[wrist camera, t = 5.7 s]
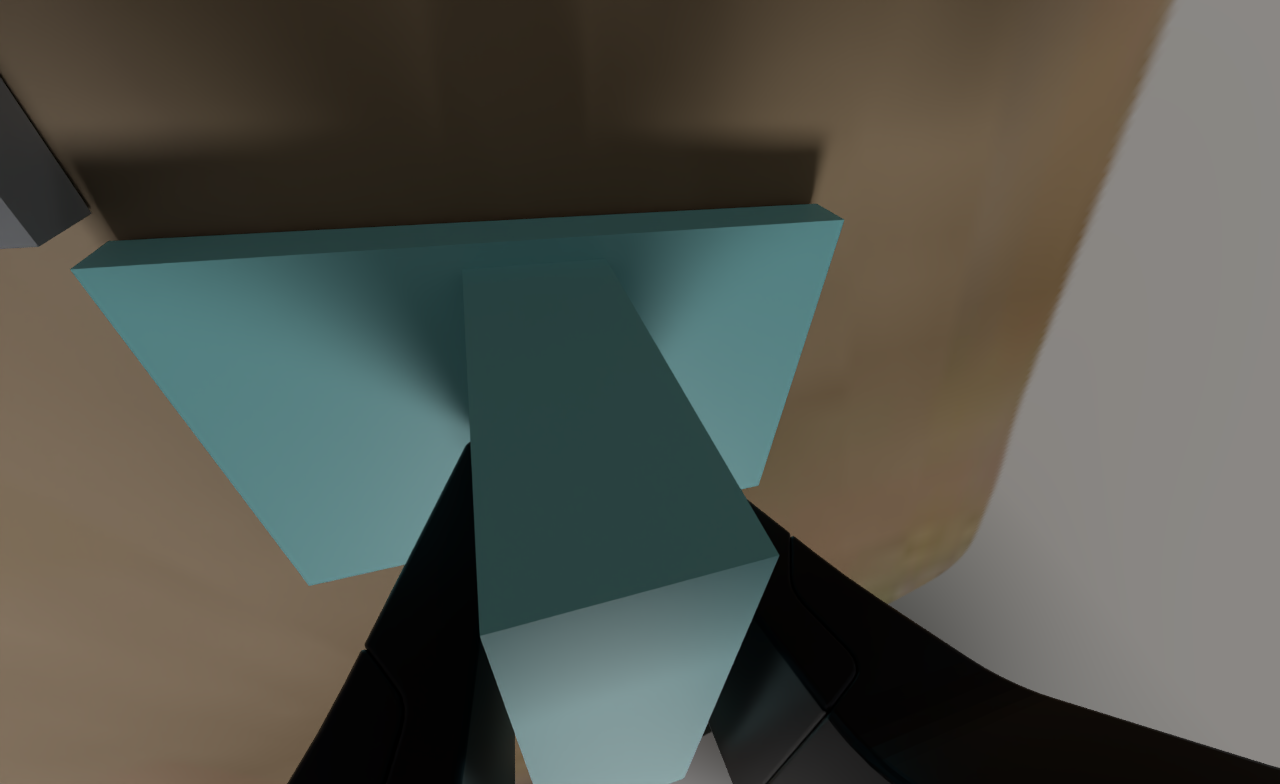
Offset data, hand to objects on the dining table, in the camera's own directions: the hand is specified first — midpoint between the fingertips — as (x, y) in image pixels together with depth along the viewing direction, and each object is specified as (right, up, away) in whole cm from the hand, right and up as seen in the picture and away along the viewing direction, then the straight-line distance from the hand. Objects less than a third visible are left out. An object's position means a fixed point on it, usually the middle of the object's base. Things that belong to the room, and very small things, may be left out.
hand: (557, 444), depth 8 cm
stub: (-1, +1, +1) cm, 2 cm away
